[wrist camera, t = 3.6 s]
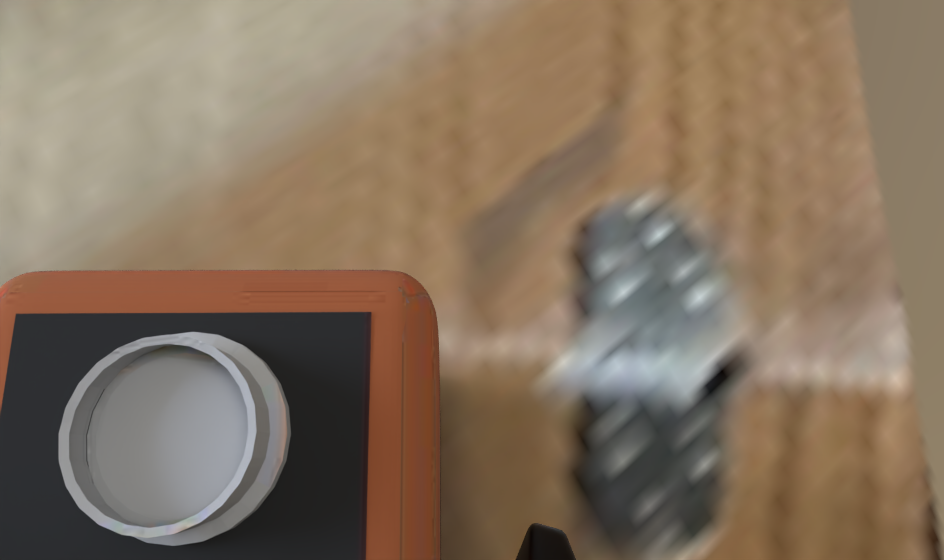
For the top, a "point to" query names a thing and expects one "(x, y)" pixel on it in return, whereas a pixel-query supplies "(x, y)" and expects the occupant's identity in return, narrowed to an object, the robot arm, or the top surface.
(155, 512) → the battery
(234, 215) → the top surface
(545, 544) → the robot arm
